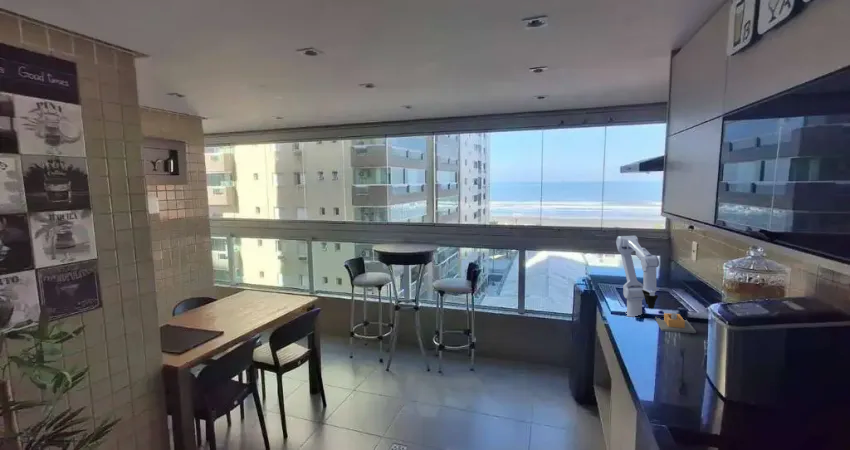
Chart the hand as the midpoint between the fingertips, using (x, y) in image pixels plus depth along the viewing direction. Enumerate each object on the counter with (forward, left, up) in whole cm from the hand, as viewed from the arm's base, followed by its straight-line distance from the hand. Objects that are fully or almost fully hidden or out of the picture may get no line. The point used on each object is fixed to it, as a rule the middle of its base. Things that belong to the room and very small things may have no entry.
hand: (649, 306), depth 201 cm
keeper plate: (-1, +11, -9) cm, 14 cm away
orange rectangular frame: (0, +11, -8) cm, 14 cm away
